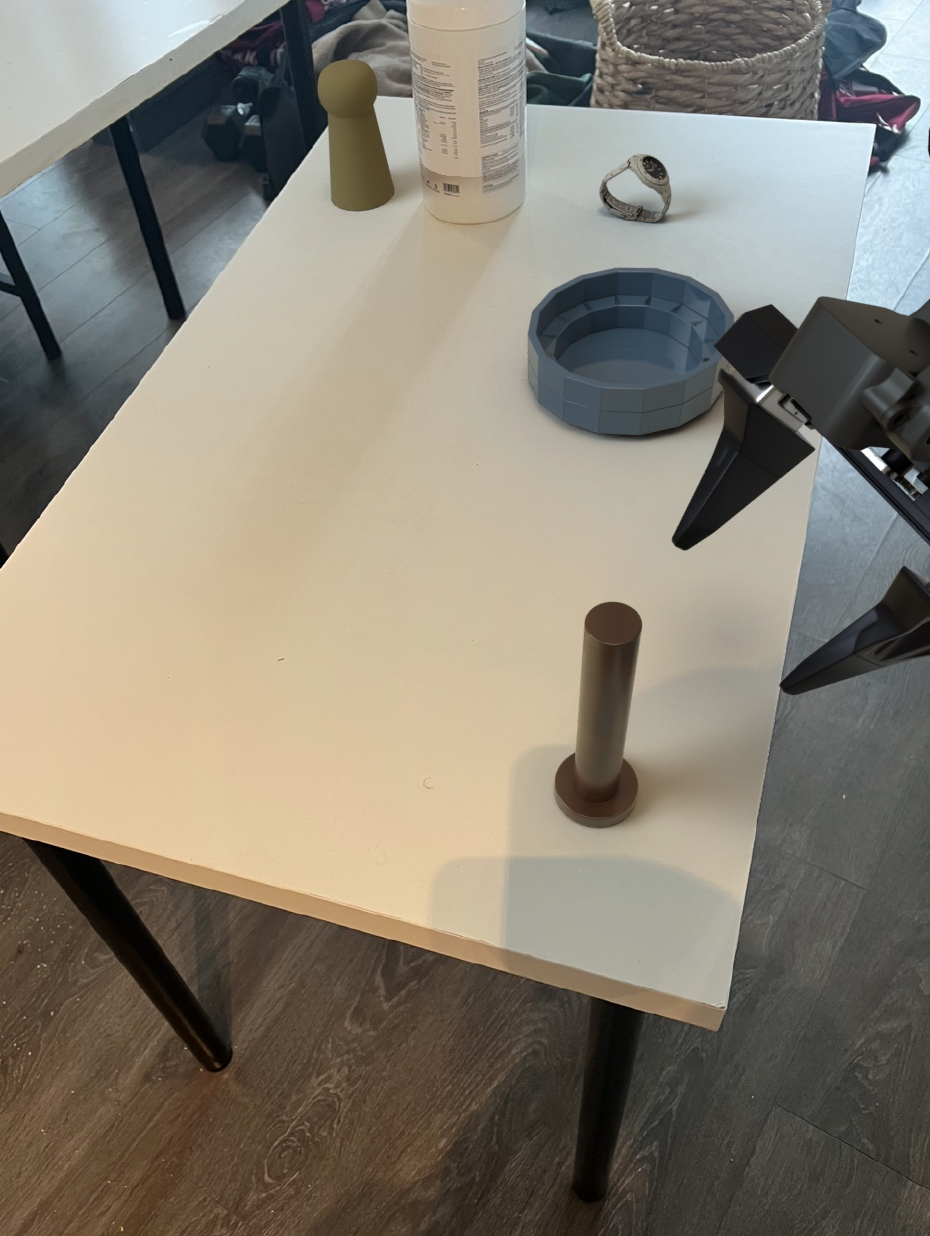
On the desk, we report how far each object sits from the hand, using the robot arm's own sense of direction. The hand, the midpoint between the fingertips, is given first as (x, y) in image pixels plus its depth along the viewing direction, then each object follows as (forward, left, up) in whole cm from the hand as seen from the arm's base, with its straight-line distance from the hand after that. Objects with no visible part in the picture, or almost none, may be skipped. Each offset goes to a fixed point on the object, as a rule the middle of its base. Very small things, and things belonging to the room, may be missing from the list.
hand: (728, 614), depth 44 cm
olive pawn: (+7, -66, -12) cm, 68 cm away
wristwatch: (-15, -53, -12) cm, 57 cm away
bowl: (-7, -32, -12) cm, 35 cm away
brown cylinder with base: (+6, +1, -12) cm, 13 cm away
